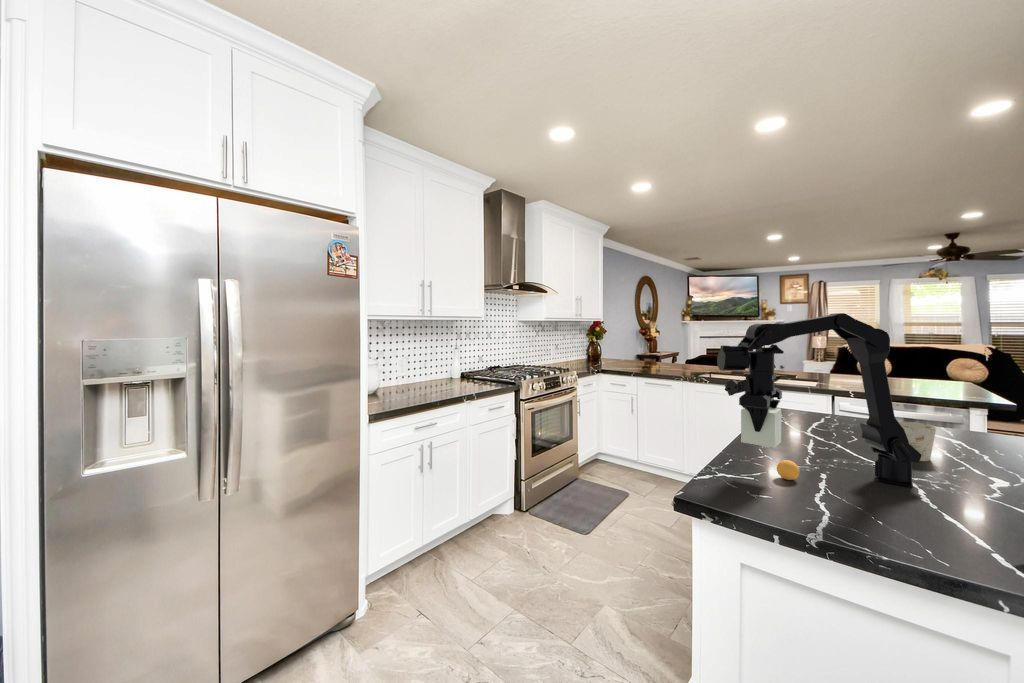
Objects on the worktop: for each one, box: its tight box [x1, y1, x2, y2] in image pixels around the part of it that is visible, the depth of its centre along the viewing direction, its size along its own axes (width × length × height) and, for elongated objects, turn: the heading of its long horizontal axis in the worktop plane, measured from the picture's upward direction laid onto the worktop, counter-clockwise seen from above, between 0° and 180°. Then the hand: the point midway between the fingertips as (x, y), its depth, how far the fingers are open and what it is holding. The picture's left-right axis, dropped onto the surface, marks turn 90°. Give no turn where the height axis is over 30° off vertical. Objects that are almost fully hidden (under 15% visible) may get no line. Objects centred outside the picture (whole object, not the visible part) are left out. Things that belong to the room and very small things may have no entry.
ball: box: [776, 459, 800, 481], centre depth 106 cm, size 5×5×5 cm
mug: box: [898, 421, 937, 462], centre depth 119 cm, size 8×13×10 cm, turn 78°
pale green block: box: [740, 407, 782, 449], centre depth 107 cm, size 8×8×9 cm
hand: (761, 428), depth 107 cm, fingers closed on pale green block, 8 cm apart
